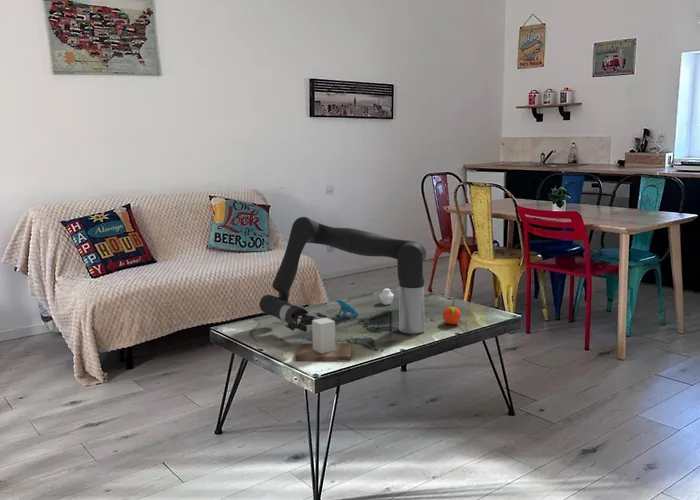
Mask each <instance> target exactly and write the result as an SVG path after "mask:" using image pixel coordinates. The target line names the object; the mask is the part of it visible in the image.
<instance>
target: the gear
mask: <svg viewBox="0 0 700 500" xmlns="http://www.w3.org/2000/svg"><path fill="white" fill-rule="evenodd" d="M337 303H338V304H339V305H340V306H339V312H338V313H337V316H339V318H340V319H343V318H344V317H345V315H346V314H348V313H350V314H351V315H352V316H354V317H356V318H357V317H359V313H358V312H357V310H355V308H353V307H352V306H351V305H350V304H348V303H346V302H345V301H343V300H341V299H338V301H337Z"/></svg>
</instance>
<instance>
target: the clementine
mask: <svg viewBox="0 0 700 500" xmlns="http://www.w3.org/2000/svg"><path fill="white" fill-rule="evenodd" d="M461 313H462V312H461V311H460V310H459V308H458V307H456V306H453V305H451V306H447V307H446V308H445V309H444V310H443V312H442V319H443V321H444V323H446V324H448V325H451V324H453V325H455V324H458V323H459V322H460V320H461V319H462V314H461Z"/></svg>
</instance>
